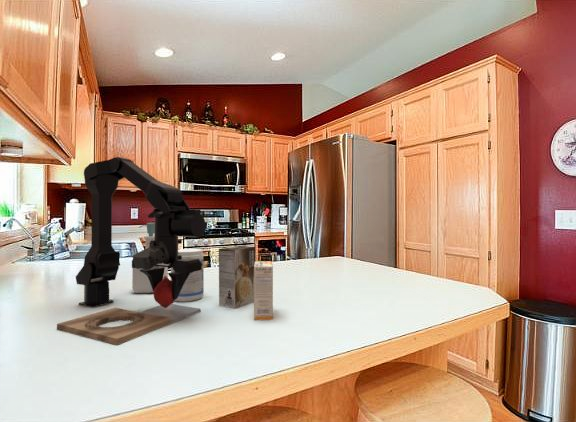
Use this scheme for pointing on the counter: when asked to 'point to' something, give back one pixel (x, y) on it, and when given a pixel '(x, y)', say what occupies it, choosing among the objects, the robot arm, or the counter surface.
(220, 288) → the coffee box
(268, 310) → the supplement box
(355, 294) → the counter surface
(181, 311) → the plate
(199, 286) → the supplement tub
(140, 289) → the soap bottle
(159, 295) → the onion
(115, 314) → the walnut bore board
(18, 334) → the counter surface
